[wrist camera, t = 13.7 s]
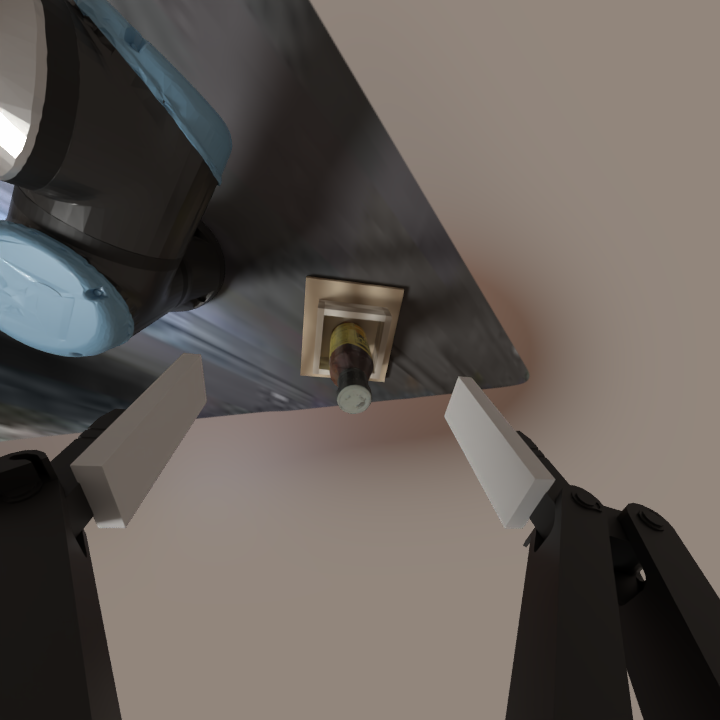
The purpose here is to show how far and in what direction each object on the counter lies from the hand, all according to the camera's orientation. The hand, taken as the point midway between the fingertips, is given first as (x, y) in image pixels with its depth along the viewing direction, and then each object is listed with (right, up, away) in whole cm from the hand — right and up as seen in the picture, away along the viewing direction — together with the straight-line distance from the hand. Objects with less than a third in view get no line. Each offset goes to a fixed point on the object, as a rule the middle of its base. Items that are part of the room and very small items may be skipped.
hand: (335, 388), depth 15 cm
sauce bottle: (-1, +6, +35) cm, 36 cm away
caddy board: (-1, +6, +36) cm, 37 cm away
